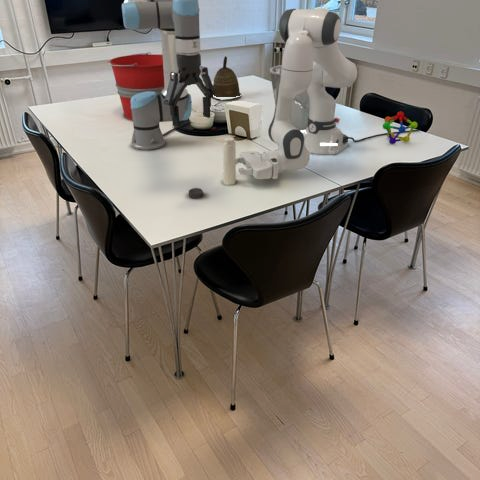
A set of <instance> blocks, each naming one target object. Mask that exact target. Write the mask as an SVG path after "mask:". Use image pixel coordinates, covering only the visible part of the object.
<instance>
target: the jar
mask: <svg viewBox="0 0 480 480" xmlns="http://www.w3.org/2000/svg"><path fill="white" fill-rule="evenodd" d="M236 145H237V144H236V141H235V138H234V137H231V136H230V137H229V136H228V137H224V139H223V142H222V161H223V162H222V163H223V164H222V167H223V168H222V169H223V171H222V175H223V176H222V177H223V178H222V179H223V184H224V185H226V186H233V185H236V179H237V178H236V175H237V174H236V173H237V171H236V170H237V169H236V167H237V166H236V165H237V164H236V158H237V157H236V155H237V154H236V151H237V149H236V148H237V146H236Z"/></svg>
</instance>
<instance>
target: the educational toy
mask: <svg viewBox="0 0 480 480" xmlns="http://www.w3.org/2000/svg"><path fill="white" fill-rule="evenodd" d="M397 119H399V124H400V125H399V127H398V126H393V125H391V124H392V123H394V122H395V121H396V120H397ZM403 120H404V121H405V122H407V123H408V124H409V125H407V126H404V123H403ZM417 127H418V122H417V121H411V120H410V119H409V118H408V117H406V116H405V113H404V112H403V111H401V110H400V111H398V112H397V114H396V115H394V116H391V117H390V116H386V117H385V118H384V122H383V123H382V129H383V130H386V133H388V135H387V138H388V142H389V145H395V144H396V143H397V142H402V141H403V142H404V143H409V142H410V140H411V138H410V136H411V134H412V133H413V132H412V130H416V129H417ZM392 129H393V130H397V132H398V133H397V134H394V133H392V132H393V131H392ZM408 129H409V130H408ZM407 130H408V131H409V132H407V134H406V135H404V136H401V134H404V133H403V132H405V131H407ZM399 135H400V136H399Z"/></svg>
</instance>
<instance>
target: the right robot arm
mask: <svg viewBox="0 0 480 480" xmlns="http://www.w3.org/2000/svg"><path fill="white" fill-rule="evenodd" d="M341 31H342V19H341V18H340V16H339V14H338V13H336V12H334V11H330V10H329V9H328V8H326V7H316V8H309V9H308V8H302V9H301V8H298V9H296V8H290V9H285V11H283V13H282V14H281V17H280V19H279V25H278V32H279V35H280V37H281V39H282V40H283V42H284V44H285V46H284V49H283V54H282V61H281V65H282V69H281V79H280V84H279V88H278V93H277V99H276V106H274V113H273V117H272V120H271V122H270V123H269V126H268V130H267V131H268V137H269V139H270V141H271V142H273V143H274V144H276V145H277V146H278V147H277V149H276V150H265V151H263V152H262V153H260V152H259V151H255V150H249V151H241V152H240V153H239V156H238V157H236V165H238V164H242V165H243V166H244V167H245V168H244V167H240V168H238V173H239V174H240V175H249V176H250V175H251V176H252V177H253V179H256V180H267V179H268V180H269V179H274V180H275V179H278V175H279V174H280V173H281V172H287V173H289V172H295V171H299V170H303V169H305V168H306V167H307V166H308V165H309V163H310V160H311V159H310V158H311V156H310V155H311V154H315V155H337V154H338V153H339V152H341V151H342V150H344V149H345V148H347V147H348V146H349V140H351V141H352V142H353V143H359V142H362V141H365V140H368V139H373V138H376V137H381V136H388V132H384V133H379V134H374V135H370V136H367V137H363V138H361V139H357V140H355V139H354V137H352V136H348V135H346V134H345V133H343V131H341V129H339V128H338V127H337V125H336V124H339V123H340V122H341V119H340V118H338V117H335V115H336V114H335V113H336V107H337V105H336V104H337V101H336V100H335V98H334V97H333V96H332V95H331V94H330V93H329V92H327V91H326V88H334V89H344V88H345V89H346V88H350V87H352V86H353V85H354V83H355V82H356V80H357V79H358V78H357V77H358V68H357V66H356V64H355V63H354V62H352V61H351V60H350V59H348V58H347V57H345V55H344V54H343V53H342V51H341V50H340V48H339V43H338V40H339V38H340V34H341ZM324 86H325V88H324ZM305 90H307V92H308V95H309V100H310V110H309V117H308V120H307V126H308V127H307V128H306V130H299V129H298V128H296V127H295V126H294V125H292V123H291V121H290V113H291V108H292V102H293V99H294V97H295V95H297V94H300V93H302V92H304V91H305ZM409 131H410V130H405V132H403V133H402V134H405V133H407V134H408V133H409ZM391 132H392V133H394V135H396V134H397V133H398V132H399V131H391ZM414 132H420V129H413V130H412V132H411V133H414Z"/></svg>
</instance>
